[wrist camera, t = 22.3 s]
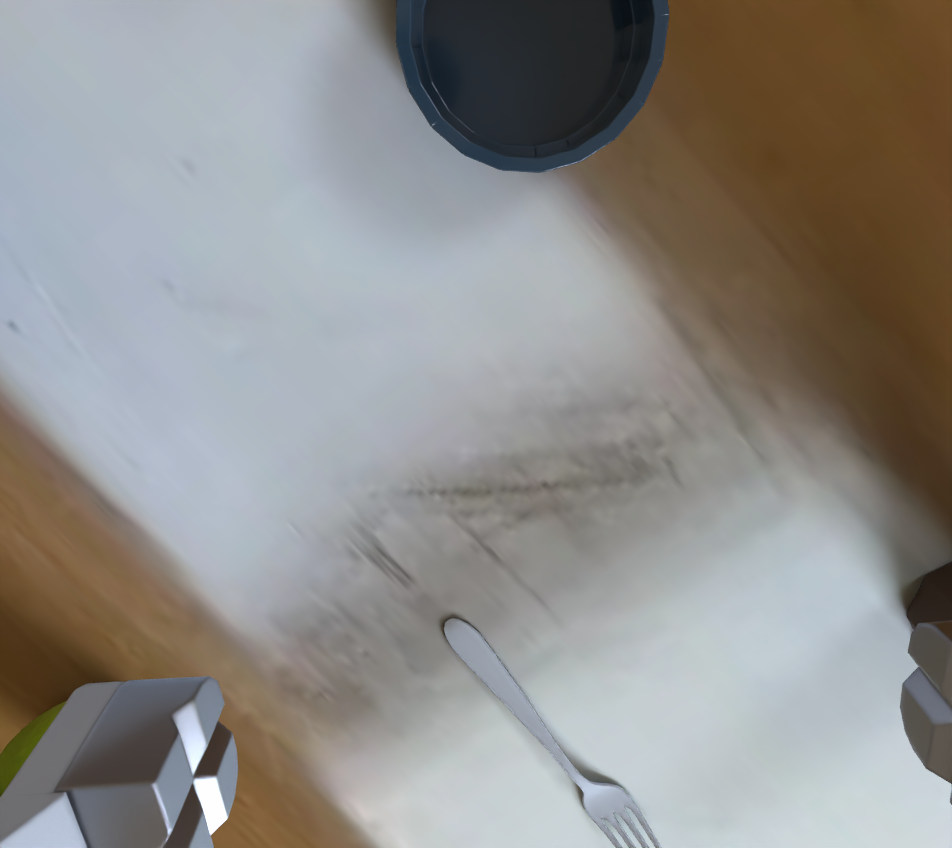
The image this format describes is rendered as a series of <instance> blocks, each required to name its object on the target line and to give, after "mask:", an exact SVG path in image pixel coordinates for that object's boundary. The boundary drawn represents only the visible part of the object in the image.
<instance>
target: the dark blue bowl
mask: <svg viewBox="0 0 952 848" xmlns="http://www.w3.org/2000/svg"><path fill="white" fill-rule="evenodd" d="M668 21H669V6H668V0H396V47H397V51H398V55H399V58H400V62H401V66H402V69H403V73H404V77H405V80H406V84H407V88H408V89H409V92H410V94H411V95H412V97H413V98H414V100H415V102H416V103H417V105H418V106H419V108H420V110H421V111H422V113H423V115H424V116H425V118H426V119H427V121H428V123H429V124H430V126H432V128H433V129H434V130H435V131H436V132H437V133H439V134H440V135H441V136H442V137H443V138H444V139H446V140H447V141H448V142H449V143H450V144H451V145H452V146H454V147H455V148H456V149H457V150H458V151H459V152H461V153H462V154H464V155H465V156H467V157H470V158H472V159H474V160H477V161H479V162H482V163H484V164H487V165H489V166H491V167H494V168H496V169H499V170H503V171H519V172H536V173H540V172H546V171H550V170H553V169H557V168H561V167H564V166H568V165H571V164H575V163H579V162H580V161H583V160H584V159H586V158H587V157H589V156H590V155H592V154H594V153H595V152H597V151H598V150H600V149H601V148H603V147H604V146H606V145H607V144H609V143H610V142H612V141H613V140H615V138H617V137H618V136H619V134H620V133H621V132H622V131H623V130H624V128H625V127H626V126H627V125H628V124H629V122H630V121H631V120H632V119H633V118H634V116H635V115H636V114H637V113H638V112H639V110H640V109H641V108H642V107H643V106H644V103H645V102H646V99H647V97H648V95H649V93H650V90H651V88H652V86H653V83H654V81H655V79H656V77H657V74H658V72H659V70H660V67H661V65H662V61H663V58H664V50H665V43H666V36H667V28H668Z"/></svg>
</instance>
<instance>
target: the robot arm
mask: <svg viewBox="0 0 952 848" xmlns="http://www.w3.org/2000/svg"><path fill="white" fill-rule="evenodd" d="M908 653H909V654H910V656H911V657H912V658H913V660H914V661H915V662H916V664H917V665H918V666H919V667H918V668H917V669H916V670H915V671H914V672H913V673H912V674H911V675H910V676H909V677H908V678H907V679H906V680H905V682H904V683H903V686H902V694H901V703H900V709H901V714H902V719H903V724H904V729H905V733H906V735H907V737H908V739H909V741H910V744H911V746H912V748H913V750H914V752H915V753H916V755H917V756H918V757H919V759H920V760H921V762H922V763H923V765H924V766H925V768H926V769H928V770H929V771H931V772H933V773H934V774H936V775H938V776H939V777H941V778H943V779H944V780H946V781H948V782H949V783H951V784H952V621H940V622H928V623H918V625H917V626H916V628H915V629H914V631H913V632H912V634H911V638H910V643H909V649H908ZM224 704H225V703H224V700H223V696H222V693H221V690H220V687H219V683H218V681H217V680H215V679H213V678H212V677H210V676H206V677H187V678H168V679H148V680H129V681H127V682H104V683H87V684H85V685H83V686H81V687H79V688H77V689H76V690H74V692H73V693H72V694H71V696H70V697H69V699H68V700H67V701H66V703H65V704H64V706H63V707H62V709H61V710H60V712H59V713H58V715H57V716H56V717H55V719H54V720H53V722H52V723H51V725H50V726H49V728H48V729H47V730H46V732H45V733H44V735H43V736H42V738H41V739H40V741H39V742H38V743H37V745H36V746H35V748H34V749H33V751H32V752H31V754H30V755H29V757H28V758H27V759H26V761H25V762H24V764H23V765H22V767H21V768H20V770H19V771H18V772H17V774H16V775H15V777H14V778H13V780H12V781H11V783H10V784H9V785H8V787H7V788H6V790H5V791H4V793H3V794H2V796H1V797H0V848H214V846H213V843H212V839H211V836H210V835H211V834H212V833H213V832H214V831H215V830H216V829H217V828H218V827H219V826H220V825H221V824H222V823H224V822H225V821H226V820H227V819H228V816H229V813H230V810H231V807H232V804H233V800H234V797H235V791H236V783H237V774H238V762H237V749H236V745H235V741H234V737H233V733H232V732H231V731H230V730H228V729H227V728H226V727H225V726H224V725H222V724H221V723H220V722H219V721H218V719H219V716H220V714H221V711H222V709H223V706H224ZM950 803H951V804H952V788H951V796H950Z"/></svg>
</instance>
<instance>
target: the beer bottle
mask: <svg viewBox="0 0 952 848" xmlns="http://www.w3.org/2000/svg"><path fill="white" fill-rule="evenodd" d="M907 618H908V619H909V621H910V623H911V625H912V627H913V629H915V628H916V626H917V625H918V623H928V622H940V621H952V563H950V564H948V565H946V566H944V567H942V568H939V569H937V570H935V571H933V572H931V573H929V574H927V575H926V576H925V578H924V580H923V582H922V584H921V586H920V588H919V590H918V592H917V594H916V596H915V598H914V600H913V602H912V603H911V605H910V607H909V609H908V611H907Z"/></svg>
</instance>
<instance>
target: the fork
mask: <svg viewBox="0 0 952 848" xmlns="http://www.w3.org/2000/svg"><path fill="white" fill-rule="evenodd" d="M444 631H445V635H446V638H447V640H448V642H449V643H450V645H451V647H452V648H453V650H454V651H455V652H456V653H457V654H458V655H459V656H460V657H461V658H462V660H463V661H464V662H465V663H466V664H467V665H468V666H469V667H470V668H471V669H472V670H473V671H474V672H475V673H476V674H477V675H478V676H479V677H480V679H481V680H482V681H483V682H484V683H485V684H486V685H487V686H488V687H489V688H490V689H491V690H492V691H493V692H494V693H495V694H496V695H497V696H498V697H499V699H500V700H501V701H502V702H503V703H504V704H505V705H506V706H507V707H508V708H509V709H510V710H511V712H512V713H513V714H514V715H515V716H516V717H517V718H518V719H519V720H520V721H521V722H522V723H523V724H524V725H525V726H526V727H527V728H528V729H529V730H530V731H531V732H532V733H533V735H534V736H535V737H536V738H537V739H538V740H539V741H540V742H541V743H542V744H543V746H544V747H545V748H546V749H547V750H548V751H549V752H550V754H551V755H552V756H553V757H554V758H555V759H556V761H557V762H558V763H559V764H560V765H561V767H562V768H563V769H564V770H565V771H566V773H567V774H568V775H569V776H570V777H571V778H572V779H573V781H574V782H575V783H576V784H577V785H578V786H579V787H580V788H581V789H582V791H583V797H582V803H583V806H584V809H585V810H586V812H587V813H588V815H589V816H590V817H591V818H592V819H593V821H594V822H595V823H596V824H597V825H598V826H599V827H600V829H601V830H602V831H603V832H604V833H605V834H606V836H607V837H608V838H609V839H610V841H611V842H612V843H613V845H614V846H615V847H616V848H623V847H622V846H621V845H620V843H619V842H618V841H617V839H616V838H615V837H614V835H613V834H612V833H611V831H610V830H609V829H608V827H607V826H606V825H605V824H604V822H603V821H602V818H604V819H607V820H608V821H609V822H610V823H611V824H612V825H613V826H614V827H615V829H616V830H617V831H618V833H619V834H620V835H621V837H622V838H623V840H624V841H625V842H626V844H627V845H628V846H629V848H636V847H635V846H634V844H633V843H632V841H631V840H630V838H629V837H628V835H627V834H626V832H625V831H624V829H623V828H622V827H621V825H620V824H619V822H618V821H617V819H616V818H615V817H614V812H615V813H617V814H619V815H620V816H621V817H622V819H623V820H624V821H625V822H626V823H627V825H628V826H629V828H630V829H631V831H632V832H633V834H634V835H635V837H636V838H637V840H638V841H639V843H640V844H641V846H642V847H643V848H649V847H648V845H647V843H646V842H645V840H644V839H643V837H642V836H641V834H640V833H639V831H638V829H637V828H636V826H635V825H634V823H633V822H632V820H631V819H630V817H629V815H628V814H627V812H626V811H625V806H626V807H628V808H630V809H631V810H632V812H633V813H634V814H635V816H636V817H637V819H638V820H639V822H640V824H641V825H642V827H643V828H644V830H645V832H646V833H647V835H648V836H649V838H650V840H651V841H652V843H653V844H654V846H655V847H656V848H661V846H660V844H659V842H658V841H657V839H656V837H655V836H654V834H653V832H652V831H651V829H650V827H649V825H648V824H647V822H646V820H645V819H644V817H643V815H642V814H641V812H640V811H639V809H638V807H637V806H636V804H635V803H634V801H633V800H632V798H631V797H630V795H629V794H628V793H627V792H626V791H625V790H624V789H623V788H621V787H619V786H617V785H614V784H609V783H596V782H592V781H589V780H587V779H586V778H585V777H583V776H582V775H581V774H580V773H579V772H578V771H577V769H576V768H575V767H574V766H573V764H572V763H571V762H570V761H569V759H568V758H567V757H566V755H565V754H564V753H563V751H562V750H561V748H560V747H559V746H558V744H557V743H556V741H555V740H554V739H553V737H552V736H551V734H550V733H549V731H548V730H547V728H546V727H545V725H544V724H543V722H542V721H541V719H540V718H539V716H538V715H537V713H536V712H535V710H534V708H533V707H532V705H531V704H530V702H529V701H528V700H527V698H526V697H525V695H524V694H523V693H522V691H521V690H520V688H519V687H518V686H517V684H516V683H515V681H514V680H513V679H512V677H511V676H510V674H509V673H508V672H507V670H506V669H505V667H504V666H503V665H502V663H501V662H500V660H499V659H498V657H497V656H496V655H495V653H494V652H493V650H492V649H491V648H490V646H489V645H488V644H487V642H486V641H485V640H484V638H483V637H482V636H481V634H480V633H479V632H478V631H476V630H475V629H474V628H473V627H472V626H471V625H469V624H468V623H466V622H463V621H461V620H459V619H454V618H452V619H449V620H448V621H446V622H445V626H444Z"/></svg>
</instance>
